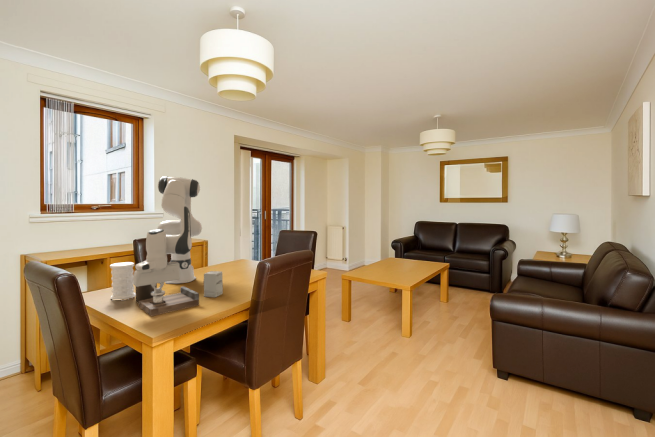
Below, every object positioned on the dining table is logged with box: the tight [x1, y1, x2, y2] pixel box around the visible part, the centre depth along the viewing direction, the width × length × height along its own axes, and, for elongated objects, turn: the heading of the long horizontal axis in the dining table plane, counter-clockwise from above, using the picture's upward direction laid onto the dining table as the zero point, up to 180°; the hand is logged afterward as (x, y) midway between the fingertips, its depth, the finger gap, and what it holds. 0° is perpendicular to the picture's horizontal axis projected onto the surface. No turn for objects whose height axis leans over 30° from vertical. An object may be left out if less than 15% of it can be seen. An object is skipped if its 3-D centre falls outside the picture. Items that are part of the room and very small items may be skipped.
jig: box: [138, 286, 200, 317], centre depth 163 cm, size 18×22×6 cm
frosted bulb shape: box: [151, 289, 166, 305], centre depth 160 cm, size 6×6×8 cm
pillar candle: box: [135, 283, 158, 304], centre depth 172 cm, size 10×10×15 cm
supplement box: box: [203, 270, 224, 298], centre depth 182 cm, size 7×7×13 cm
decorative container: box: [109, 261, 136, 300], centre depth 177 cm, size 12×12×18 cm
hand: (157, 292), depth 159 cm, fingers closed, pressing on frosted bulb shape
